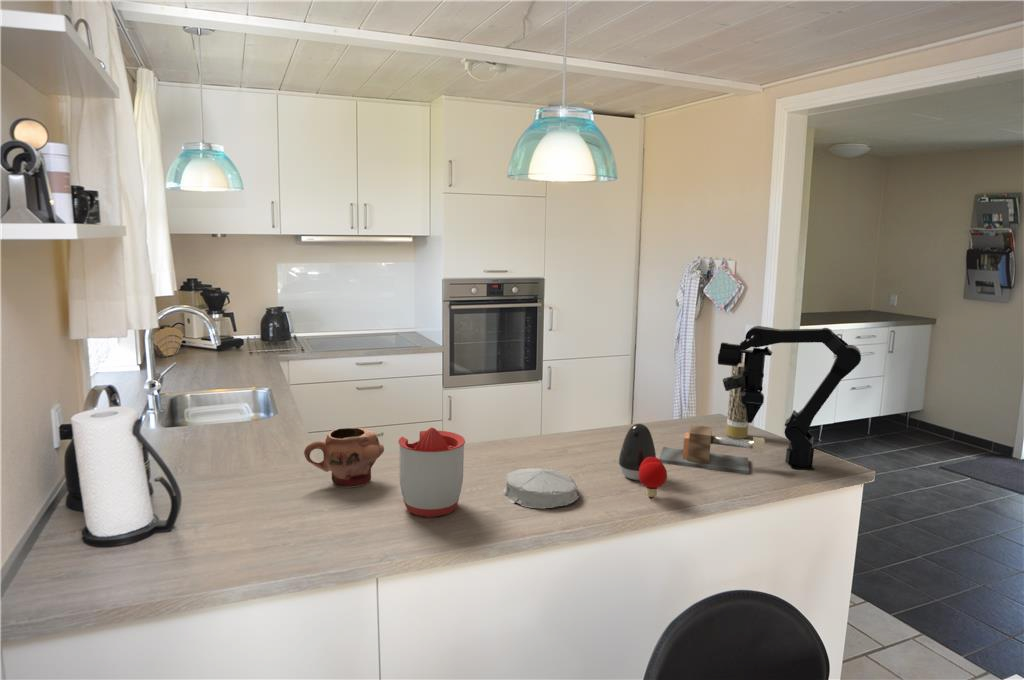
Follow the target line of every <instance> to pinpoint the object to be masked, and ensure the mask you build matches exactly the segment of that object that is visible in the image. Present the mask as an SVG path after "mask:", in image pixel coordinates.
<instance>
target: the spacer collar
mask: <svg viewBox="0 0 1024 680" xmlns="http://www.w3.org/2000/svg"><path fill="white" fill-rule="evenodd" d="M689 436H690V432H685V434H684V437H683V448H682V449H683V459H688V449H689Z"/></svg>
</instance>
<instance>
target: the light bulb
mask: <svg viewBox="0 0 1024 680" xmlns="http://www.w3.org/2000/svg"><path fill="white" fill-rule="evenodd" d="M667 478H668V471H667V468H666V467H665V465H664V463H662V462H661V461H660V460H659V458H657V456H656V457H647V458H645V459H644V460H643V462H642V463H641V465H640V468H639V480H638V481H639V482H640V484H641V485H643V486H644V487H645V488H646V489H645V492H646V493H645V495H647V496H648V498H651V499H653V498H655V497H656V496H657V495H658V488H661V487H662V486H663V485H665V483H666V481H667Z"/></svg>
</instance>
